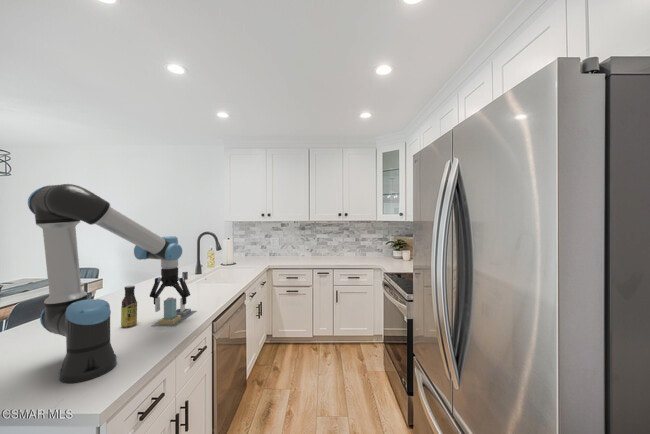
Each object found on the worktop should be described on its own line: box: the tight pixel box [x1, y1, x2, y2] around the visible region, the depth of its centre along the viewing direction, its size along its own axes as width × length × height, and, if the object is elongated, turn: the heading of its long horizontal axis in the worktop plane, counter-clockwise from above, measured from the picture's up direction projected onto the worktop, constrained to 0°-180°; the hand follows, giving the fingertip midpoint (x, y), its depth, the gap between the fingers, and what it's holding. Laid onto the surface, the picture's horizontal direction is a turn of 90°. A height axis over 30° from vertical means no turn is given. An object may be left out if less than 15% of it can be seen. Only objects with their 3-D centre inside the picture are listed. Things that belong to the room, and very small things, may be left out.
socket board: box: [150, 308, 198, 328], centre depth 143 cm, size 22×12×3 cm, turn 179°
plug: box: [163, 297, 177, 320], centre depth 138 cm, size 4×4×12 cm
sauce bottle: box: [120, 285, 138, 329], centre depth 134 cm, size 6×6×20 cm
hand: (170, 311), depth 138 cm, fingers open, 12 cm apart
